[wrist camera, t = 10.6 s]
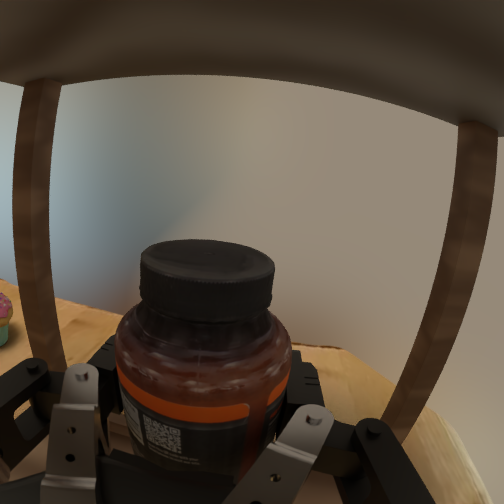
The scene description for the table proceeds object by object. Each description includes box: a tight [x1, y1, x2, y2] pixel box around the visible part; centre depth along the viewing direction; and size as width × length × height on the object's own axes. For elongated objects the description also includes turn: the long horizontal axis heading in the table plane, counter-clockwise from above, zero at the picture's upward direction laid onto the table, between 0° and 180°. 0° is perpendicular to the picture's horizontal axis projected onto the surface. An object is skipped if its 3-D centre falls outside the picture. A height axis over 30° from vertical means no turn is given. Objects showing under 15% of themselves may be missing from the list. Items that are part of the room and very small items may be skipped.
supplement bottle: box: [114, 239, 292, 485], centre depth 10 cm, size 6×6×11 cm
